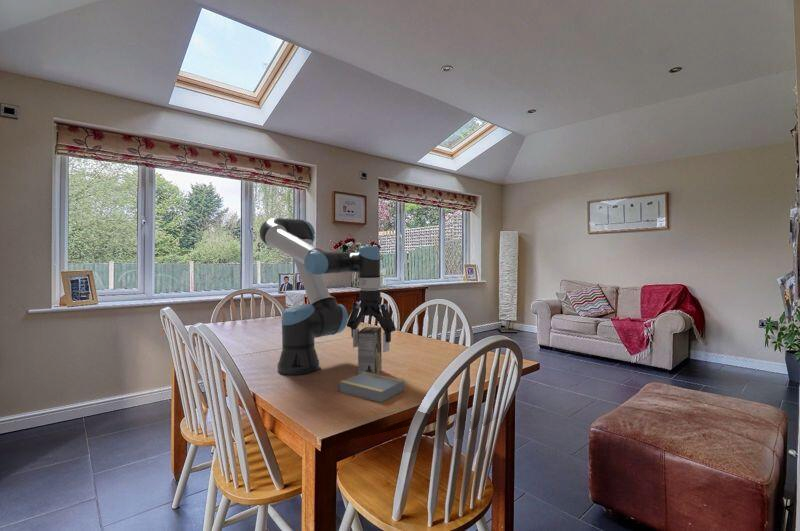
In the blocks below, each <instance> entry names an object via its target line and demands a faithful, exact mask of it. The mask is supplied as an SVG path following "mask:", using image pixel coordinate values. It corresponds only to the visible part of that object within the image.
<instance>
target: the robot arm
mask: <svg viewBox="0 0 800 531" xmlns="http://www.w3.org/2000/svg"><path fill="white" fill-rule="evenodd" d="M315 234H316V231H315V228H314V226H313V225H312V223H310V221H308V220H305V219H300V218H295V219H293V218H284V217H272V218H269V219H266V220H265V221H264V222H263V223H262V224H261V225H260V228H259V238H260V240H261V241H262V242H263V243H264V244H265V245H266V246H268V247H270V248H272V249H279V250H280V251H281V252H283V253H285V254H286V255H288V256H289V257H291V258H292V259H293V261H294V263H295V266H296V269H297V272H298V274H299V277H300V280H301V283H302V285H303V287H304V291H305V294H306V297H307V300H308V302H309V304H307V303H306V304H298V305H297V304H296V305H293V306H289V307H286V308H284V310H283V312H282V314H281V315H282V316H281V336H282V337H281V339H282V340H281V341H282V343H281V344H282V345H281V349H282V350H281V352H280V356H279V359H278V362H277V372H278V373H280V374H283V375H291V376H292V375H294V376H296V375H305V374H309V373H311V374H312V373H313V372H316V371H318V370H319V369H320V359H319V358H318V353H317V351H316V348H315V339H316V338H322V337H327V336H335V335H336V334H339V333H342V332H343V331H344V330H345V329H346V327H348V328H350V330H351V334H350V335H351V338H352V348H358V332H359V331H360V328H359V325H360V324H361V323H362V322H363V320H364V318H365V316H366V317H367V316H369V317H373V318H375V319H376V321H377V322H378V324H379V325H380V327H381V330H382V331H384V332H382V353H387V352H390V342H392V332H395V331H396V330H397V329H396V326H395V323H394V321H393V318H392V316H391V313H390V311H389V307H388V306H389V304H388V303H382V304H381V297H382V296H381V292H382V291H381V290H380V289H381V252H380V247H378V245H364V246H363V245H362V246H359V247H358V251H357V252H356V251H341V252H340V251H337V252H336V251H335V252H334V251H325V250H323V249H321V248H319V247H317V246H315V245H314V242H315V239H316V236H315ZM346 273H347V274H348V273H349V274H350V273H358V279H359V281H358V282H359V283H358V284H359V289H360V290H359V291H358V292H359V296H358V298H359V299H358V300H359V301H356V302H355V301H354V302H353V305H352V311H350V312H351V313H350V315H349V314H348V311H347V308H346V307H345V306H344V305H343V304H341V303H338V302H337V300H336V297H335V296H332V295H331V294H330V292H329V289H328V286H327V284H326V281H325V279H324V277H323V275H325V274H346ZM360 309H361V310H360Z"/></svg>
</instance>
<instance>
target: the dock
mask: <svg viewBox="0 0 800 531" xmlns="http://www.w3.org/2000/svg"><path fill="white" fill-rule="evenodd" d="M337 391H338V392H341V393H345V394H348V395H352V396H356V397H358V398H363V399H367V400H371V401H375V402H379V403H383V402H385V401H386V400H389V399H390V398H393V397H394V396H396V395H398V394H399V393H401V392H403V391H405V381H404V380H403V379H399V378H394V377H389V376H387V375H386V376H385V375H381V374H378V375H377V374H372V373H367V372H362V373H361V374H355V375H353V376H351V377H349V378H345V379H344V380H341V381H339V382H337Z"/></svg>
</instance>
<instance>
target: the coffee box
mask: <svg viewBox="0 0 800 531" xmlns="http://www.w3.org/2000/svg"><path fill="white" fill-rule="evenodd" d="M357 353H358V354H357V364H358V365H357V368H358V369H357V370H358V371H357V372H358V374H361V373H362V372H367V373H372V374H377V375H380V373H381V371H382V367H383V366H382V362H383V361H382V358H383V357H382V356H383V355H382V353H383V352H382V327H381V326H380V327H378V326H376V327H375V326H374V327H372V326H371V327H370V326H365V327H363V328H362V329H359V332H358V347H357ZM358 374H357V375H358Z"/></svg>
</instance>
